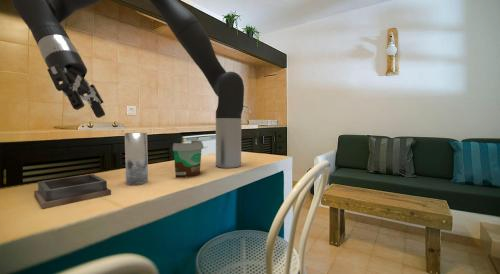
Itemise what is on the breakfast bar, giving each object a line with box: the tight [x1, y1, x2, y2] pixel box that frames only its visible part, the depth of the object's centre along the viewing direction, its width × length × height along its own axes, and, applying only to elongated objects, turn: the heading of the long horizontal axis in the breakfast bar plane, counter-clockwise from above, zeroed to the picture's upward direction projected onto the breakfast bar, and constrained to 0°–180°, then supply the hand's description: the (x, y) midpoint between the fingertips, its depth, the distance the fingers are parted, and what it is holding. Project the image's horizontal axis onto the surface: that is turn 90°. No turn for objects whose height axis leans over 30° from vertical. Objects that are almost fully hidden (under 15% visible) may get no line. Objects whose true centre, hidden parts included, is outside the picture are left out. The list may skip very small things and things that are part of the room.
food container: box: [172, 139, 205, 179], centre depth 69 cm, size 12×6×10 cm, turn 168°
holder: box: [33, 173, 112, 210], centre depth 50 cm, size 11×11×3 cm
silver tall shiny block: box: [124, 132, 149, 186], centre depth 60 cm, size 5×5×13 cm
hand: (91, 112), depth 57 cm, fingers open, 8 cm apart
